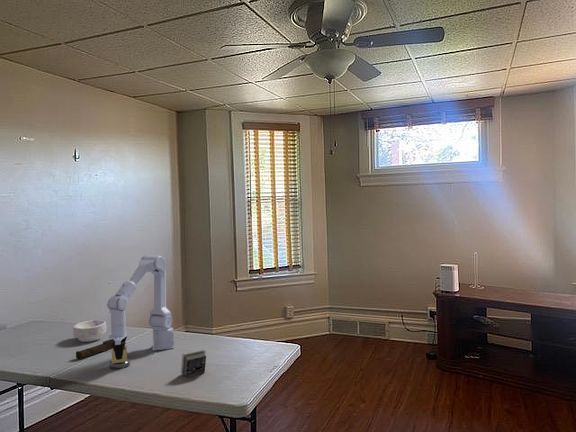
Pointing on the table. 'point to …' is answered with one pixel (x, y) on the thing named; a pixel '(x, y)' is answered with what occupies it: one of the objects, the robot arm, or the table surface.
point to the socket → (124, 357)
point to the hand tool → (94, 349)
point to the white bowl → (89, 330)
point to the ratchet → (119, 365)
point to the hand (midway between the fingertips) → (119, 356)
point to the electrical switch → (193, 363)
